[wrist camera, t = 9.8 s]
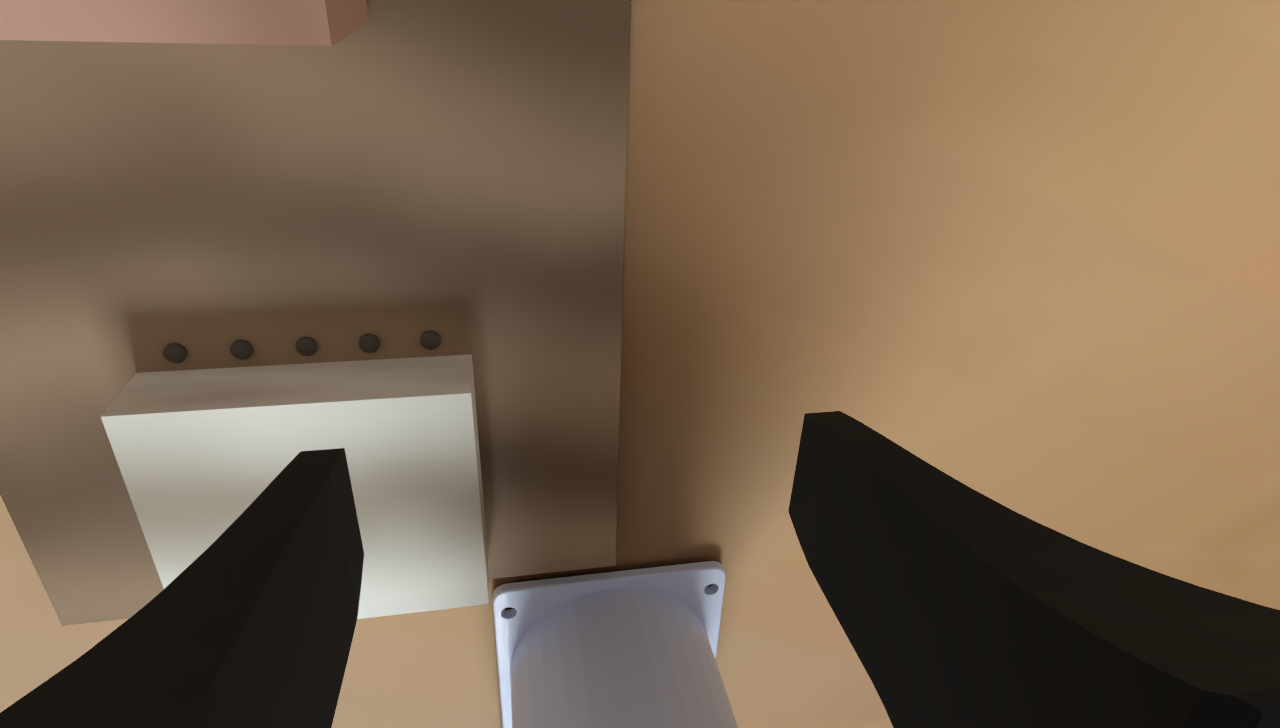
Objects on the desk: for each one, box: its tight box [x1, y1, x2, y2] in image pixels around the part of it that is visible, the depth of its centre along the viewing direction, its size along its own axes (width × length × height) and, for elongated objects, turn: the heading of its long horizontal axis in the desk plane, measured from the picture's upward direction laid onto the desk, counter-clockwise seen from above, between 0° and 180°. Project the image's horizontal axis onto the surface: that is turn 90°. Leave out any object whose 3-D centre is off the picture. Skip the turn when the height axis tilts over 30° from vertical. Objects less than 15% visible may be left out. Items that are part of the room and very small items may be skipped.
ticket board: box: [0, 0, 631, 626], centre depth 17 cm, size 22×16×3 cm
